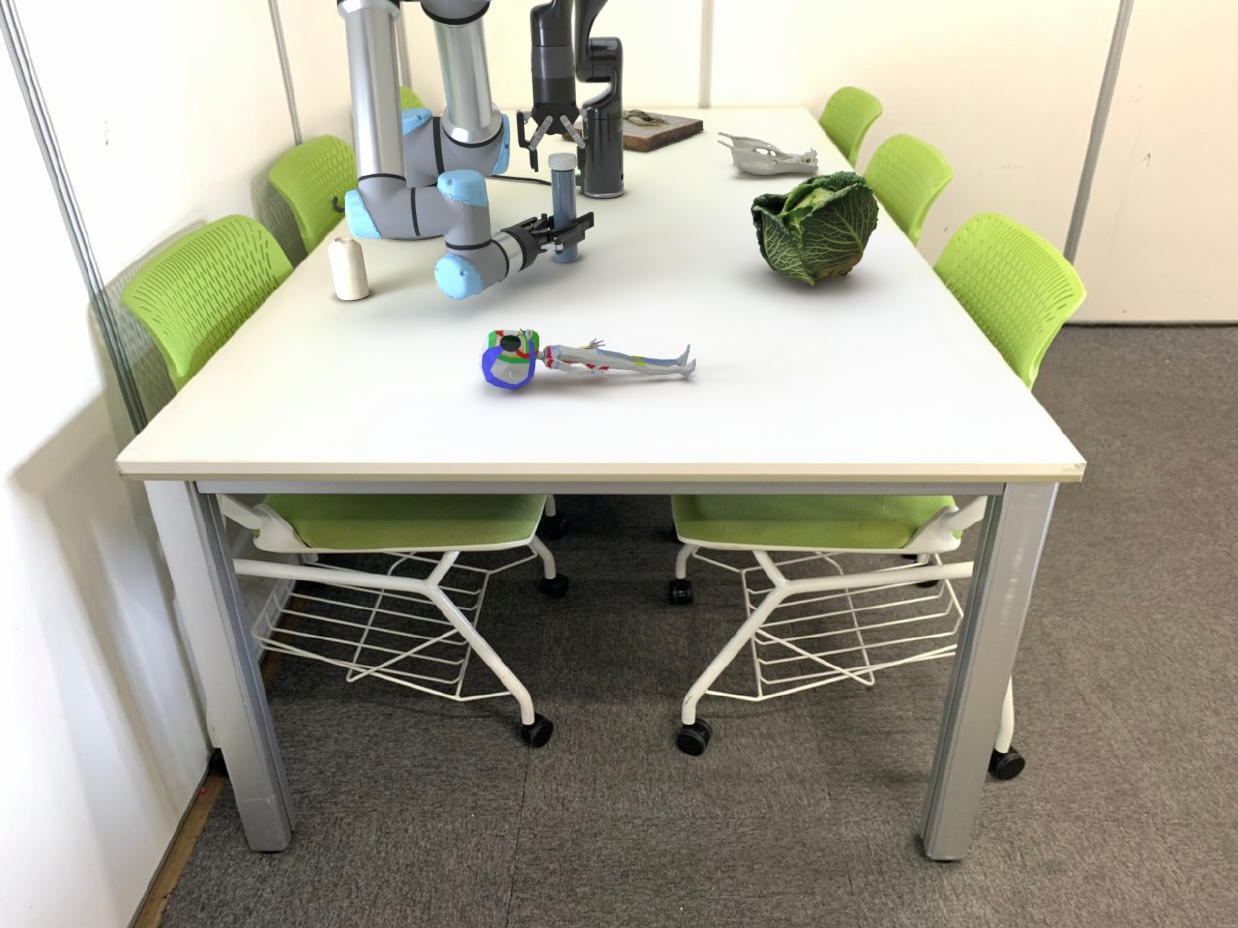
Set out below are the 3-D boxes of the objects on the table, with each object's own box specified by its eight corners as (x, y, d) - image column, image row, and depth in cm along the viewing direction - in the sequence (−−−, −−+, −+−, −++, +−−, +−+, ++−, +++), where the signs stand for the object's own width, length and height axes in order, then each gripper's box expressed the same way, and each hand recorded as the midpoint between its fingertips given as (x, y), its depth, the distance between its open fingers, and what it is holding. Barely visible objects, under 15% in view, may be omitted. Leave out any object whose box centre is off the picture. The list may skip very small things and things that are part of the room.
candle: (375, 290, 158) (366, 235, 153) (358, 302, 154) (348, 245, 149) (348, 287, 160) (338, 232, 155) (330, 298, 156) (319, 242, 150)
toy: (701, 358, 123) (480, 340, 118) (690, 412, 127) (477, 397, 122) (689, 328, 131) (482, 310, 127) (679, 379, 136) (479, 364, 131)
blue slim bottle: (569, 253, 174) (564, 155, 164) (583, 258, 171) (579, 159, 162) (550, 258, 172) (545, 159, 162) (564, 264, 169) (559, 163, 159)
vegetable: (776, 302, 169) (727, 209, 161) (858, 246, 170) (814, 150, 162) (827, 317, 151) (775, 212, 143) (918, 253, 152) (872, 146, 144)
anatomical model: (719, 128, 226) (819, 127, 222) (718, 166, 231) (817, 165, 227) (715, 142, 213) (822, 141, 210) (715, 181, 218) (819, 181, 215)
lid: (545, 165, 164) (544, 154, 163) (571, 162, 165) (571, 151, 164) (553, 171, 160) (553, 160, 159) (580, 168, 161) (580, 157, 160)
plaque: (647, 125, 237) (559, 112, 252) (647, 153, 241) (560, 139, 256) (706, 107, 258) (622, 97, 273) (705, 133, 262) (622, 121, 277)
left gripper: (470, 265, 161) (544, 229, 178) (550, 282, 153) (620, 243, 170) (465, 224, 157) (542, 191, 174) (547, 239, 149) (619, 203, 166)
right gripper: (591, 67, 158) (594, 163, 167) (510, 70, 156) (517, 167, 165) (597, 74, 152) (599, 173, 161) (512, 78, 150) (519, 177, 159)
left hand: (580, 217), depth 172 cm, fingers closed on blue slim bottle, 4 cm apart
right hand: (557, 169), depth 163 cm, fingers open, 7 cm apart
